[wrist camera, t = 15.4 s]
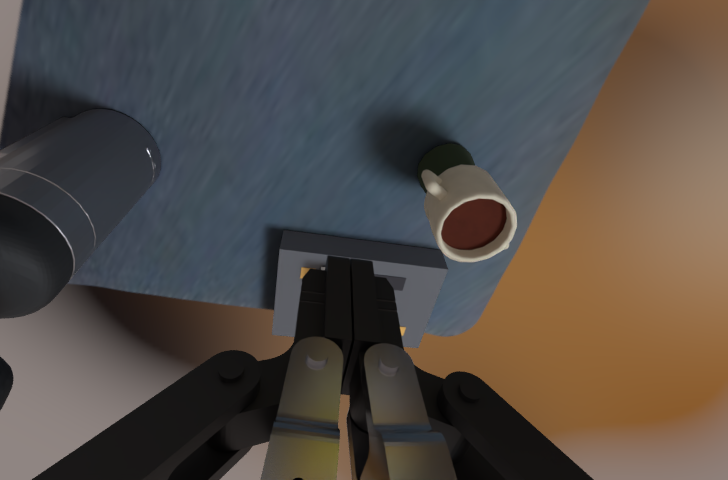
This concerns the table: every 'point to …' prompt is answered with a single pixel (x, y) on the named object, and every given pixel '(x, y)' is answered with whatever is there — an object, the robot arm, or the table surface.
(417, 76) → the table surface
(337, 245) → the switch box
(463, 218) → the character mug
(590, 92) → the table surface
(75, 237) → the robot arm
